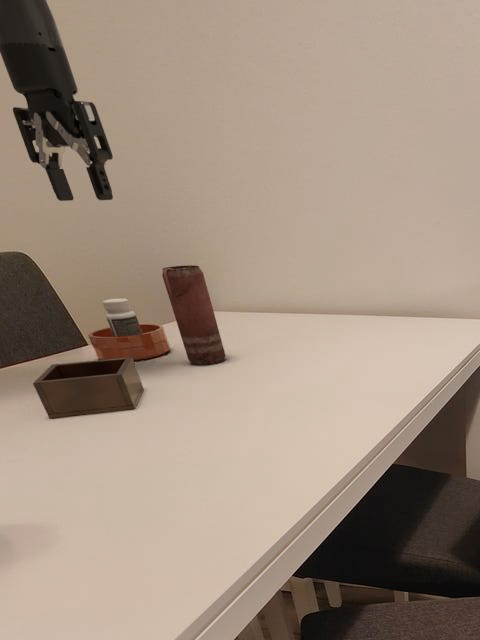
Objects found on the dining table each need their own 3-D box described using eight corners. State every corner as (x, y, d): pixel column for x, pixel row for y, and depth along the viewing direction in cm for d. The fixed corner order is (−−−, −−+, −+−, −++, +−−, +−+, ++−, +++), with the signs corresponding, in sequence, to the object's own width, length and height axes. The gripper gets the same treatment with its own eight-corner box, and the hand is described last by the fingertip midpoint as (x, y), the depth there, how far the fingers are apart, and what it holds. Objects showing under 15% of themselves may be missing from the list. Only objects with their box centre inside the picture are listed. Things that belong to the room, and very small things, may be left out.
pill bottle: (154, 350, 108) (136, 298, 103) (132, 356, 105) (113, 302, 100) (135, 348, 110) (117, 297, 104) (114, 354, 106) (94, 301, 101)
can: (180, 364, 101) (150, 268, 92) (207, 355, 105) (180, 263, 96) (208, 367, 99) (179, 269, 90) (233, 358, 103) (208, 264, 95)
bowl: (92, 365, 101) (82, 340, 99) (104, 350, 111) (95, 327, 108) (167, 358, 104) (159, 333, 102) (173, 344, 113) (165, 321, 111)
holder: (49, 418, 78) (32, 383, 76) (66, 397, 86) (51, 364, 84) (134, 408, 81) (121, 374, 78) (143, 389, 89) (132, 356, 86)
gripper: (-33, 45, 76) (30, 202, 86) (38, 33, 71) (96, 200, 81) (23, 53, 81) (76, 200, 91) (93, 42, 76) (141, 198, 86)
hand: (85, 200), depth 86 cm, fingers open, 8 cm apart
